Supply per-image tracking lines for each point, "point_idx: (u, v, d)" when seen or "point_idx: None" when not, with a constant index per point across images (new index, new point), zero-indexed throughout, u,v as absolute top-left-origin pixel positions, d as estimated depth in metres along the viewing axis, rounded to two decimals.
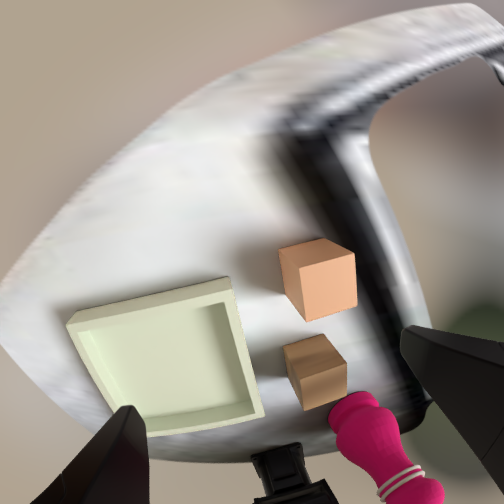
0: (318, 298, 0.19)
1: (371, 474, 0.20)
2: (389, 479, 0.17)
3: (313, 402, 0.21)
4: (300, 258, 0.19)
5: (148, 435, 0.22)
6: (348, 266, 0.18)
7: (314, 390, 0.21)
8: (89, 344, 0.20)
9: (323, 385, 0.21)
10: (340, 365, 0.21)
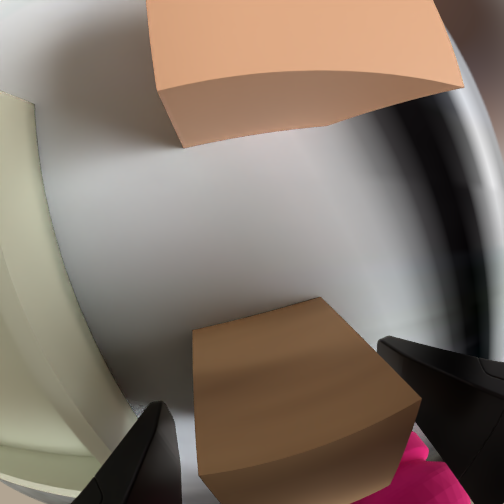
0: None
1: None
2: None
3: None
4: None
5: None
6: None
7: (278, 499, 0.04)
8: None
9: (317, 483, 0.04)
10: (395, 412, 0.04)
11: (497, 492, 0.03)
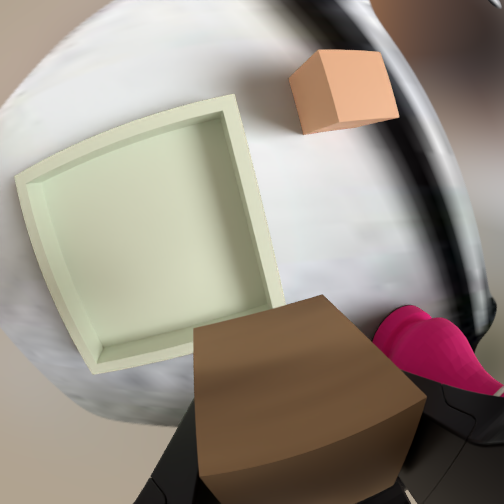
0: (349, 92, 0.12)
1: None
2: None
3: None
4: None
5: (114, 367, 0.16)
6: (377, 64, 0.12)
7: (281, 500, 0.04)
8: (40, 209, 0.13)
9: (321, 483, 0.04)
10: (400, 410, 0.04)
11: None
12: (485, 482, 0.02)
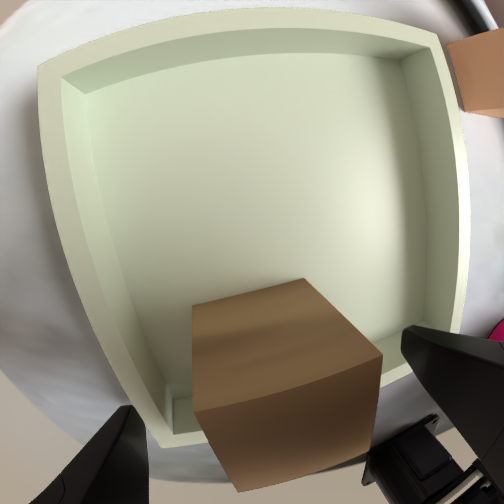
0: None
1: None
2: None
3: (264, 475, 0.06)
4: None
5: None
6: None
7: (262, 447, 0.05)
8: (79, 137, 0.07)
9: (296, 432, 0.05)
10: (359, 364, 0.05)
11: None
12: None
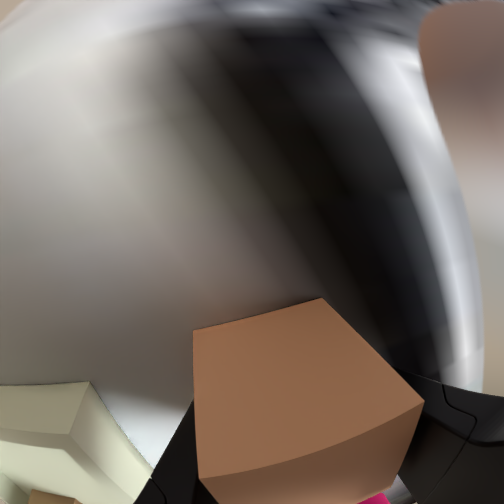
0: None
1: None
2: None
3: None
4: (228, 405, 0.05)
5: None
6: (394, 438, 0.04)
7: None
8: None
9: None
10: None
11: None
12: (485, 482, 0.02)
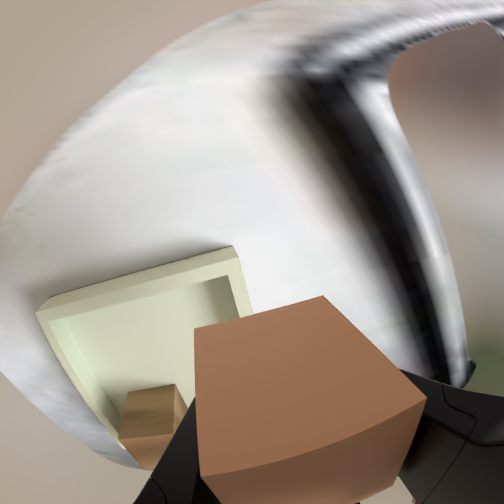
0: None
1: None
2: None
3: (151, 463, 0.15)
4: (230, 402, 0.05)
5: None
6: (397, 435, 0.04)
7: (144, 452, 0.14)
8: (64, 336, 0.16)
9: (153, 450, 0.14)
10: (165, 434, 0.14)
11: None
12: (485, 482, 0.02)
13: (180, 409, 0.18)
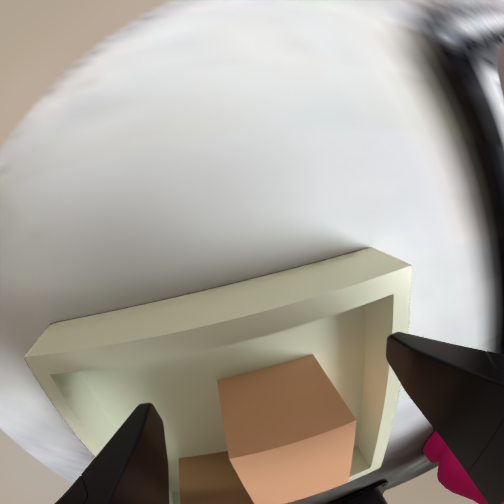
0: None
1: (484, 503, 0.08)
2: None
3: None
4: (268, 493, 0.08)
5: None
6: None
7: None
8: (79, 393, 0.09)
9: None
10: None
11: None
12: None
13: None
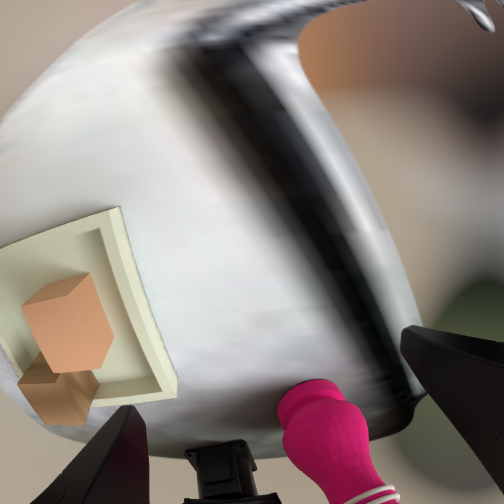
0: None
1: (324, 491, 0.14)
2: (344, 503, 0.12)
3: (47, 417, 0.14)
4: (49, 352, 0.14)
5: None
6: None
7: (38, 403, 0.13)
8: None
9: (44, 401, 0.13)
10: (49, 383, 0.13)
11: None
12: None
13: None
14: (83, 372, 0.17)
